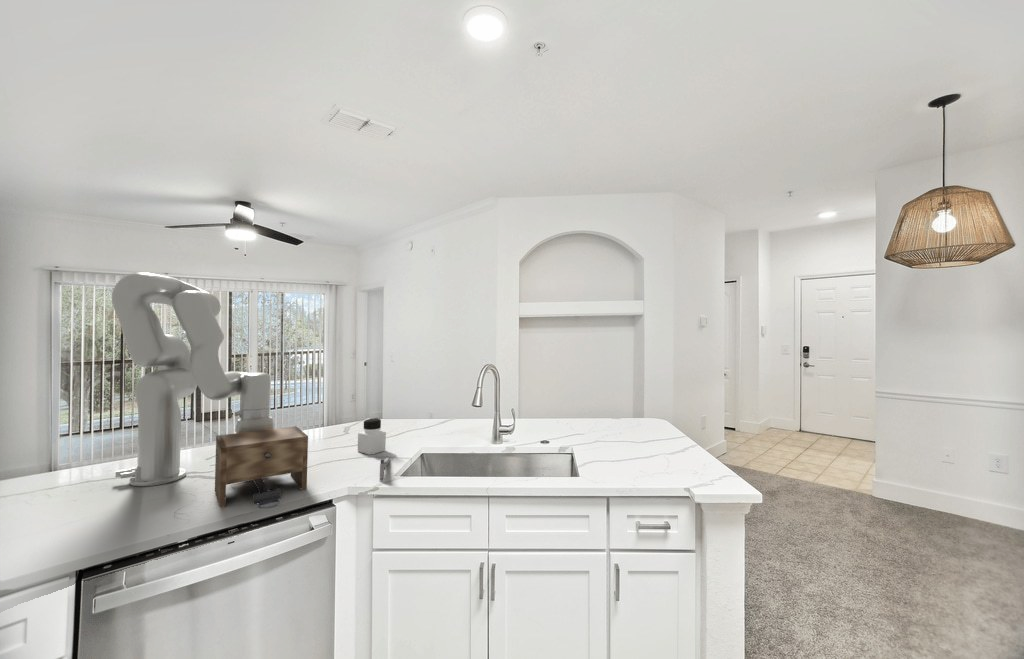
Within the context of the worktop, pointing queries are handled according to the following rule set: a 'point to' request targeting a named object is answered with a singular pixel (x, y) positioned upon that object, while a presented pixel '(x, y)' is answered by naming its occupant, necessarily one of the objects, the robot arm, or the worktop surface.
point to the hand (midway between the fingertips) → (253, 473)
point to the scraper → (265, 492)
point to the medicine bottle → (371, 437)
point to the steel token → (268, 503)
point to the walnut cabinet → (260, 457)
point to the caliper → (383, 467)
